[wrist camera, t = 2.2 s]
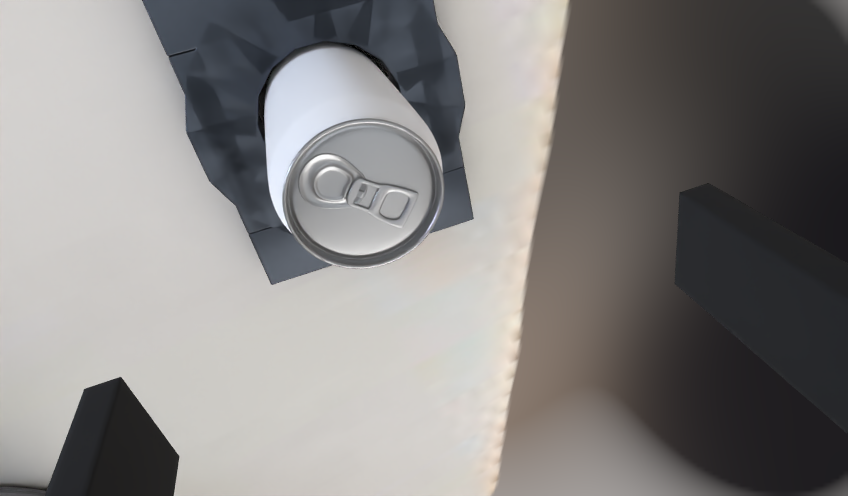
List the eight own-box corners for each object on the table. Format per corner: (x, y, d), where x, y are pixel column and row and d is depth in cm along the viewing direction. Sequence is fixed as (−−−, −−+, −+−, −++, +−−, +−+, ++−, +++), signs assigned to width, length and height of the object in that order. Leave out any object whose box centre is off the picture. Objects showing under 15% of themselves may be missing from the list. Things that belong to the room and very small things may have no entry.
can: (289, 16, 26) (310, 72, 16) (407, 71, 29) (488, 148, 19) (246, 137, 29) (241, 252, 19) (359, 178, 31) (408, 297, 21)
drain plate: (470, 198, 34) (484, 216, 32) (259, 265, 33) (260, 289, 30) (414, -104, 25) (429, -106, 23) (124, -30, 24) (111, -26, 22)
